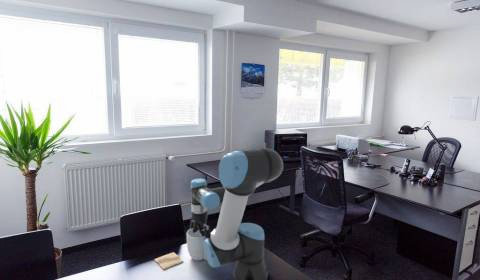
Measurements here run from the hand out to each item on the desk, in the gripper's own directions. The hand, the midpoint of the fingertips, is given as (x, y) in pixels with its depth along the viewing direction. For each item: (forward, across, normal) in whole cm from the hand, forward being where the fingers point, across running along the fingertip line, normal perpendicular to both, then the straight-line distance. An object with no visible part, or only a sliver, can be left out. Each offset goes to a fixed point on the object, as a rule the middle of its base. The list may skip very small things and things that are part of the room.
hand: (200, 253), depth 147 cm
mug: (+2, 0, 0) cm, 2 cm away
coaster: (+2, +6, +14) cm, 15 cm away
